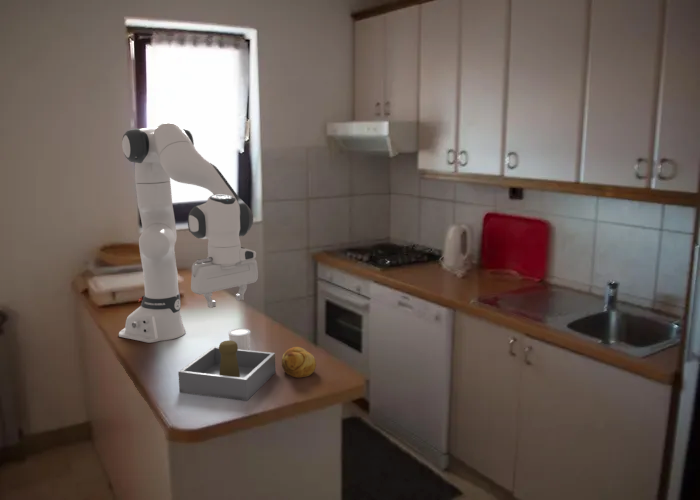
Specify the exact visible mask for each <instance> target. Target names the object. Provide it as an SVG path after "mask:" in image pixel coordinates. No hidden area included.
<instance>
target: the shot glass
mask: <svg viewBox="0 0 700 500" xmlns="http://www.w3.org/2000/svg"><path fill="white" fill-rule="evenodd" d="M228 339H229V340H231V341H235V342H236V343H237V345H238V349H241V350H250V344H251V330H250V329H248V328H235V329H231V330H229V331H228Z"/></svg>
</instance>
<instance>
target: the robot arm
mask: <svg viewBox="0 0 700 500" xmlns="http://www.w3.org/2000/svg"><path fill="white" fill-rule="evenodd" d="M194 144H195V143H194V138H193V134H192V133H191V131H190V130H189V129H188V128H186V127H182V126H180V125H179V124H178V123H175V122H164V123H161V124H159V125H158V126H153V127H144V128H132V129H129V130H126V131H125V133H124V134H123V137H122V141H121V147H122V152H123V155H124V157H125V159H127V160H128V161H129V162H130V163H134V164H135V165H134V180H135V189H136V190H135V191H136V201H137V208H138V211H139V212H138V213H139V215H140V216H139V217H140V220H141V221H140V222H141V228H142V232H141V234H140V236H139V238H138V248H139V255H140V262H141V267H142V272H143V283H144V295H142V296H141V297H139V298H138V303H140V302H141V304H140V306H139V307H137V308H136V309H135V310H133V312H131V313H130V314H129V315H128V316H127V318H126V320H125V327H124V328H123V329H121V330H119V332H118V337H120V338H125V339H129V340H130V339H131V340H133V341H134V340H135V341H138V342H139V341H140V342H144V343H149V344H150V343H151V344H152V343H156V342H161V341H167V340H173V339H176V338H177V339H178V338H180V337H181V336H183V335H185V334H186V332H187V331H186V329H185V326H184V323H183V319H182V313H181V307H182V306H181V293H180V291H179V282H178V281H179V279H178V269H177V261H176V254H175V253H176V251H175V247H176V246H175V245H176V242H177V240H178V239H177V238H178V236H177V235H178V234H177V227H176V225H177V224H176V219H175V212H174V207H173V197H172V195H173V194H172V185H171V180H173V181H175V182H177V183H181V184H186V185H187V184H188V185H192V186H196V187H200V188H204V189H205V190H208V191H209V192H211V194H212V195H211V196H209V197H208V198H207V201H206V202H204V203H202V204H198V205H195V206H193V208H192V209H191V210H190V211H189V213H188V215H187V227H188V231H189V232H190V233H191V235H192V236H193V237H194V238H197V239H201V240H208V242H207V257H205V258H201V259H196V260H195V262H193V264H192V265H191V278H190V290H191V292H192V293H194V294H196V295H201V296H202V295H203V297H204V299H205V300H206V303H207V307H208V308H210V309H213V308H215V307H217V304H216V303H217V301H216V300H214V299H212V296H213V293H214V292H215V293H216V292H219V291H222V290H228V289H231V288H236V287H238V288H239V289H238V291H237V293H236V294H235V299H236V301H238V302H242V301H244V300H245V299H244V298H245V297H244V294H245V293H246V292H247V291H246V290H247V288H248V285H249V284H255V283H256V282H257V280H258V278H259V272H258V271H259V270H258V269H259V268H258V262H257V259H256V257H257V252H256V251H255V250H252V249H250V248H246V247H242V245H241V244H242V243H241V240H240V237H244V236H246V234H247V233H248V232H249V231H250V230H251V228H252V226H253V224H254V215H253V211H252V210H251V208H250V206H248V204H246V203H245V201H243V200H242V198H240V196H239V195H238V194H237V193H236V192H235V190H234V188H233V187H232V186H231V185H230V183H229V182H228V180H227V179H226V177H224V175H223V174H222V172H221V171H220V169H218V167H217V166H215V164H213V163H211V162H209V161H208V160H207V159H206V158H204V157H203V156H202V155H201V154H200V153H199V151H198V150H197V149H196V148H195V146H194Z"/></svg>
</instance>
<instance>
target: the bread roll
mask: <svg viewBox="0 0 700 500" xmlns="http://www.w3.org/2000/svg"><path fill="white" fill-rule="evenodd" d="M281 366H282V369H283V371H284V372H285V374H287V375H288V376H290V377H292V378H295V379H297V378H305V377H309V376H311V375H313V373H314V372H315V370H316V368H317V362H316V358H315V357H314V355H313V354H312V353H311V352H309V351H307V349H305V348H303V347H300V346H293V347H291V348H288V349H287V350H286V351H285V352H284V353H283V355H282V357H281Z"/></svg>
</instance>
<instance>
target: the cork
mask: <svg viewBox="0 0 700 500" xmlns="http://www.w3.org/2000/svg"><path fill="white" fill-rule="evenodd" d="M218 347H219V351H220V353H221V362H220V373H219V375H224V376H232V377H240V373H239V367H238V361H237V356H236V352H237V350H238V345H237V343H236V342H235V341H231V340H223V341H221V342H220V343H219V346H218Z"/></svg>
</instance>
